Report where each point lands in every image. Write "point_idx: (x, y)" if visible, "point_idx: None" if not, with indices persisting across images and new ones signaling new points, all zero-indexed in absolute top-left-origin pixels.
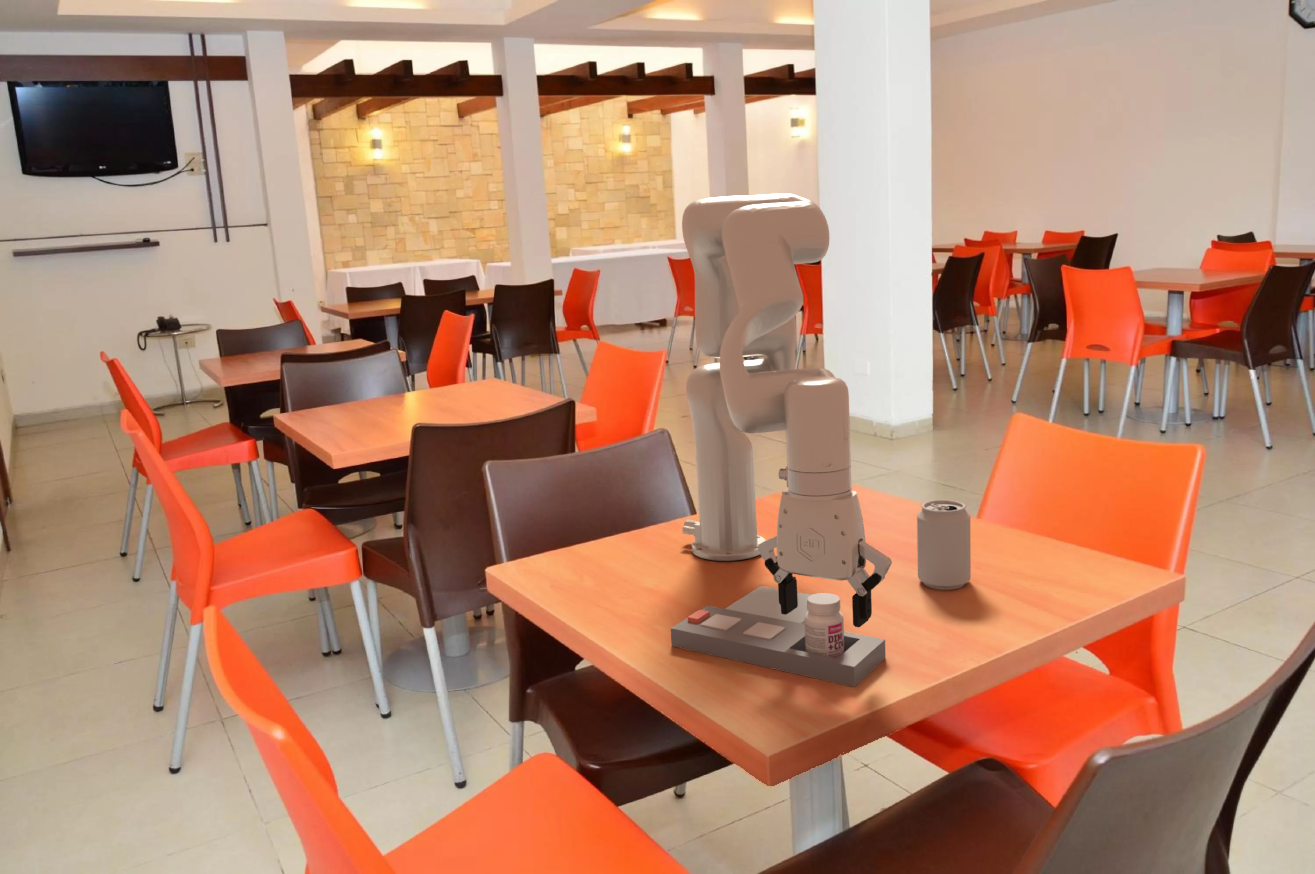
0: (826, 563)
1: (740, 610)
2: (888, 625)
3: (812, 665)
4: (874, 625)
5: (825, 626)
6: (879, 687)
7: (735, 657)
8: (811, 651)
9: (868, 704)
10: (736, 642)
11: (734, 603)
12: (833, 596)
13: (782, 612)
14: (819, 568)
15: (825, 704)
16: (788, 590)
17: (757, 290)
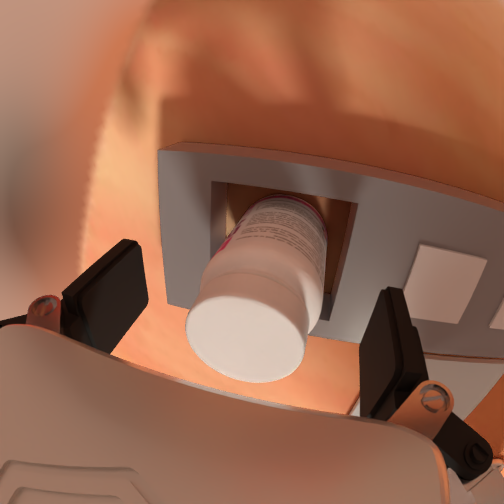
0: (37, 414)
1: (477, 382)
2: (235, 385)
3: (276, 156)
4: (255, 384)
5: (231, 243)
6: (142, 161)
7: (480, 195)
8: (296, 211)
9: (133, 86)
10: (493, 209)
11: (483, 396)
12: (219, 362)
13: (397, 288)
14: (96, 404)
15: (203, 42)
16: (383, 363)
17: None
